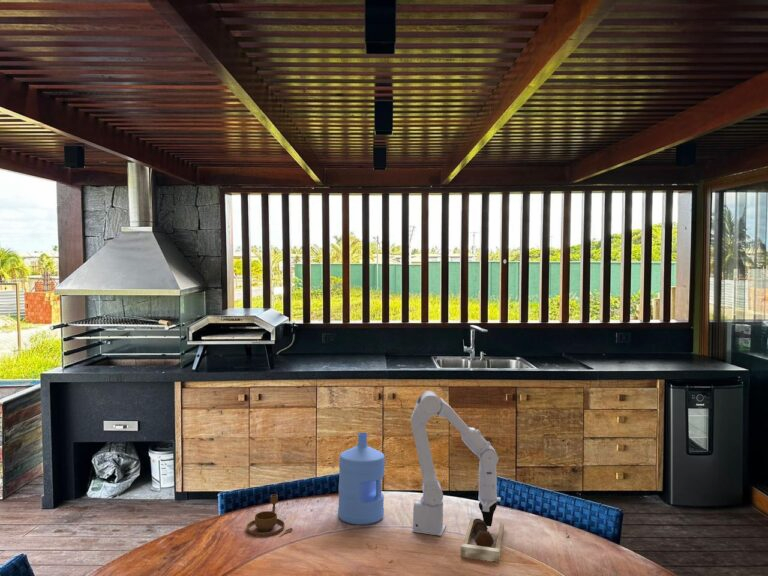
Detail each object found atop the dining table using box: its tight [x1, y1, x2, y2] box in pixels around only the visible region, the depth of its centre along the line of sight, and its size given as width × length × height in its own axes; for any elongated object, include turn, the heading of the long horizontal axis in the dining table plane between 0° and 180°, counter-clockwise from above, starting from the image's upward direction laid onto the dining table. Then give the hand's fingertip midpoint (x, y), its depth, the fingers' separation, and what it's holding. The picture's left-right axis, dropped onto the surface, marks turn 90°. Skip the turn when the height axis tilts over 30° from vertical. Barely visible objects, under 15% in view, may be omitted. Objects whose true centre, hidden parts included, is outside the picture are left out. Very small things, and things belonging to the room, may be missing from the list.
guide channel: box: [460, 517, 505, 563], centre depth 167 cm, size 11×24×3 cm, turn 164°
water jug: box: [337, 432, 386, 526], centre depth 185 cm, size 16×16×28 cm
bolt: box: [472, 518, 495, 548], centre depth 169 cm, size 6×5×15 cm
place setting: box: [246, 493, 294, 538], centre depth 177 cm, size 18×20×6 cm
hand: (487, 525), depth 175 cm, fingers closed, pressing on bolt
